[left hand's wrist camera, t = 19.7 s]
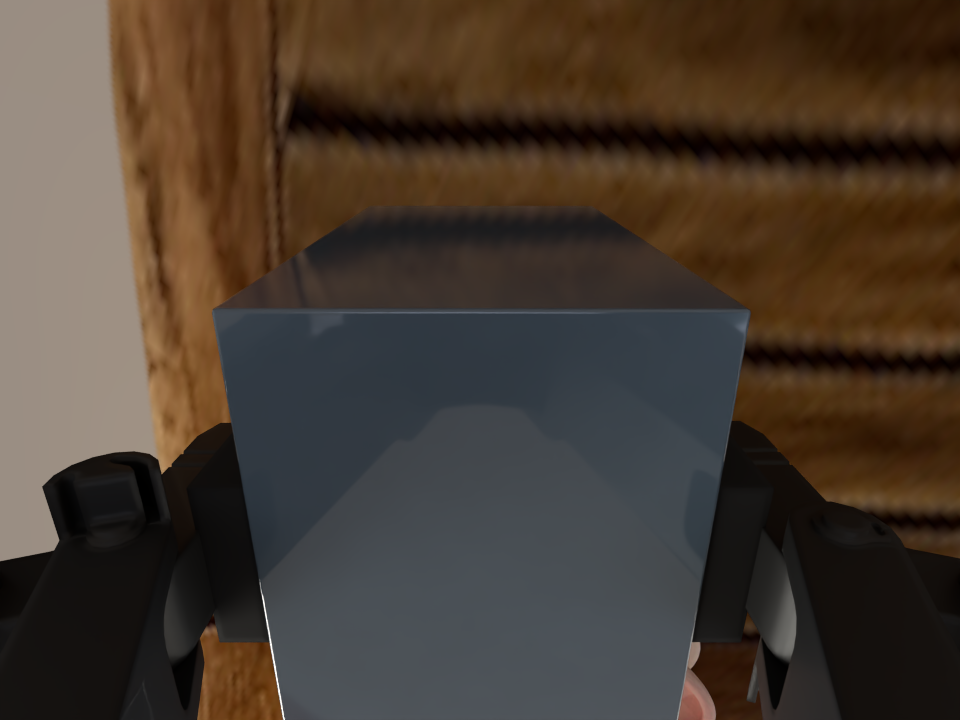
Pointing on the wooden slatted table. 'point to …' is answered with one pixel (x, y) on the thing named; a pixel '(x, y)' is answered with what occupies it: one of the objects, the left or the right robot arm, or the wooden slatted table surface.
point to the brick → (481, 463)
